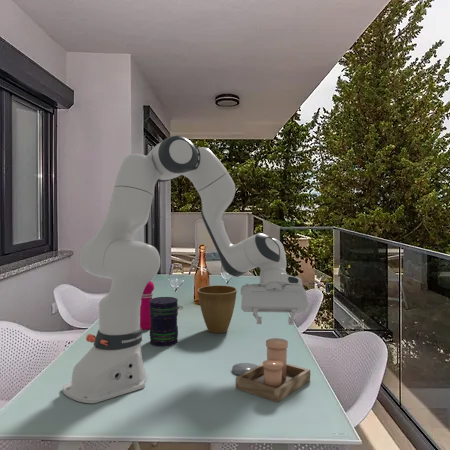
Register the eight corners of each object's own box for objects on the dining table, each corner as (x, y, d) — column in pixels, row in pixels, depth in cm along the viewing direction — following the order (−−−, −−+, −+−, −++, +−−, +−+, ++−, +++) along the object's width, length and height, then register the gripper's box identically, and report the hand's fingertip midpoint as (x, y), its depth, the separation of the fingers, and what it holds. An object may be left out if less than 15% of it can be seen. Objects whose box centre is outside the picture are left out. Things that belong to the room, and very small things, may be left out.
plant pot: (211, 322, 179) (211, 283, 178) (243, 328, 172) (243, 287, 171) (189, 332, 167) (189, 290, 166) (223, 339, 159) (223, 295, 158)
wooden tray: (277, 402, 110) (277, 390, 110) (235, 388, 118) (235, 377, 118) (310, 380, 123) (310, 369, 123) (270, 369, 131) (270, 359, 131)
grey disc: (249, 378, 125) (249, 375, 125) (226, 371, 130) (226, 368, 129) (264, 369, 131) (264, 367, 131) (242, 363, 136) (242, 360, 136)
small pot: (276, 395, 112) (276, 368, 112) (258, 390, 115) (258, 363, 115) (286, 388, 116) (286, 362, 116) (269, 383, 119) (269, 358, 119)
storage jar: (158, 336, 162) (158, 295, 161) (182, 339, 159) (182, 298, 158) (144, 344, 153) (143, 301, 152) (169, 348, 149) (169, 304, 148)
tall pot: (280, 383, 119) (280, 346, 119) (261, 377, 123) (261, 342, 123) (291, 376, 124) (291, 341, 123) (273, 371, 128) (273, 336, 127)
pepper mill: (152, 330, 169) (151, 278, 168) (134, 329, 170) (133, 277, 169) (158, 325, 176) (158, 275, 175) (141, 324, 177) (141, 274, 176)
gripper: (240, 278, 139) (239, 317, 130) (306, 279, 138) (310, 318, 128) (240, 289, 143) (240, 328, 134) (304, 290, 142) (308, 329, 133)
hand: (275, 323), depth 131 cm, fingers open, 8 cm apart
